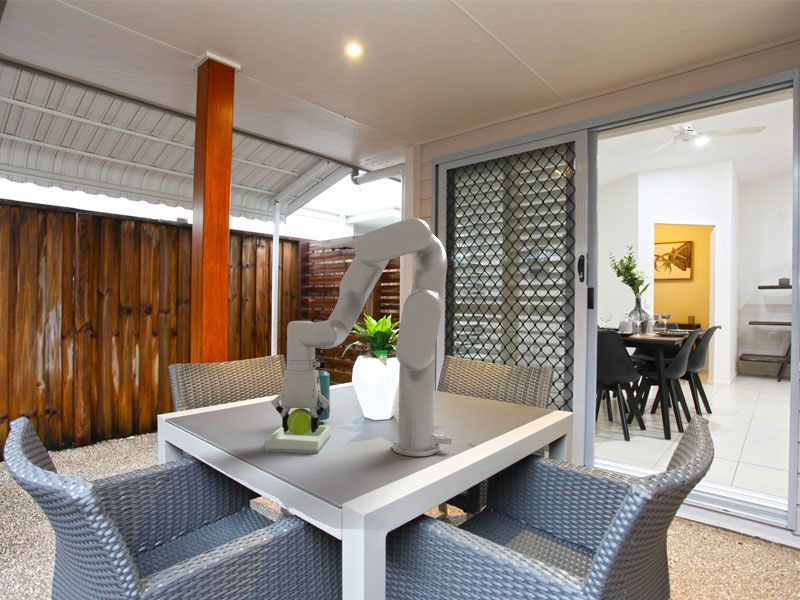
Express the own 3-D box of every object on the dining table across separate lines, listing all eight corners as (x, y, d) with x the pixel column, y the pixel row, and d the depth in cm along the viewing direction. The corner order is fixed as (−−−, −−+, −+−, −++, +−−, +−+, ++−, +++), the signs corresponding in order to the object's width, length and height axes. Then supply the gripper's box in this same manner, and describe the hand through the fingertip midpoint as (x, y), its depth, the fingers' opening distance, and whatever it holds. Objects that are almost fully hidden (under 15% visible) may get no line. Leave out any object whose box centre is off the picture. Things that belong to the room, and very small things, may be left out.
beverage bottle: (318, 426, 134) (319, 362, 134) (304, 423, 138) (305, 360, 138) (334, 422, 139) (334, 360, 139) (320, 418, 143) (320, 358, 143)
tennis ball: (286, 431, 120) (286, 406, 120) (311, 429, 122) (311, 405, 122) (288, 439, 113) (288, 412, 113) (314, 436, 115) (315, 410, 115)
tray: (330, 436, 124) (330, 426, 124) (317, 453, 110) (318, 441, 110) (283, 435, 125) (283, 424, 125) (264, 451, 111) (265, 439, 111)
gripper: (335, 364, 121) (334, 427, 121) (275, 363, 122) (274, 426, 122) (328, 368, 113) (328, 435, 113) (264, 367, 115) (264, 434, 114)
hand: (300, 430), depth 118 cm, fingers closed on tennis ball, 7 cm apart
